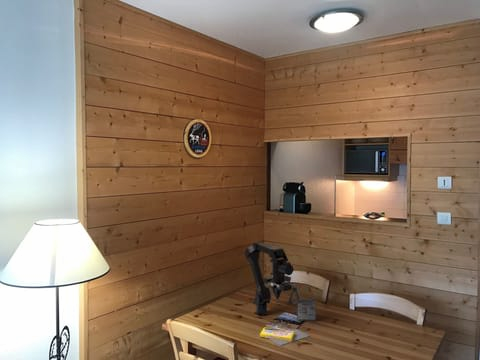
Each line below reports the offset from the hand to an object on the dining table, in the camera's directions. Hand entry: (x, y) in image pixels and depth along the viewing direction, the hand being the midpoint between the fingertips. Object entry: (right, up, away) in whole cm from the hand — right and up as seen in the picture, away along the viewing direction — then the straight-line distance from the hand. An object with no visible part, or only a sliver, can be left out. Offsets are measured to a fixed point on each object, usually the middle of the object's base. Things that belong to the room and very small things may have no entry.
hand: (277, 299), depth 211 cm
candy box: (0, -12, -14) cm, 18 cm away
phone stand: (+14, -12, +30) cm, 35 cm away
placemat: (+4, -14, -19) cm, 23 cm away
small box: (+17, -13, +5) cm, 22 cm away
